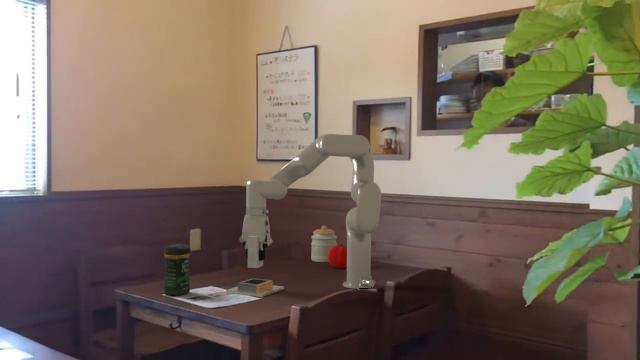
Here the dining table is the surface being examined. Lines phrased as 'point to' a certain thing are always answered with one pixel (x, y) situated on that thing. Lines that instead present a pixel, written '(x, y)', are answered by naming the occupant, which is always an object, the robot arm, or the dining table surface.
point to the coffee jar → (177, 269)
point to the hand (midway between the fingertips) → (255, 259)
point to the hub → (255, 288)
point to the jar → (322, 244)
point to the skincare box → (253, 252)
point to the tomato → (338, 256)
